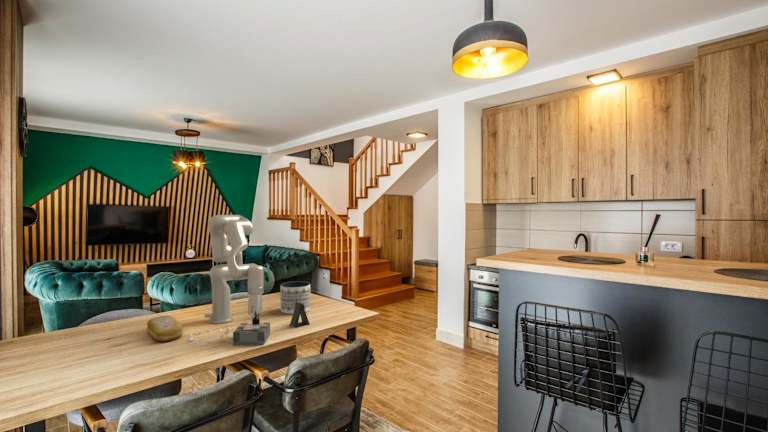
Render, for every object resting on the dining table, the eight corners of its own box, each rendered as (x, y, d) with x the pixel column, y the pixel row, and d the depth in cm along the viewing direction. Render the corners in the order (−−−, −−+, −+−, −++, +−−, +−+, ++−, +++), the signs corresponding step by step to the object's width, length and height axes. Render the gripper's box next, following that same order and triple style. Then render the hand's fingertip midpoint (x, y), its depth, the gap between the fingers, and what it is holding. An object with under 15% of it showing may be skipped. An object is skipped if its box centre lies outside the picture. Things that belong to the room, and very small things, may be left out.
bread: (170, 326, 198) (170, 311, 198) (188, 338, 181) (188, 321, 180) (141, 332, 188) (141, 316, 188) (158, 345, 171) (158, 328, 170)
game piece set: (229, 329, 195) (229, 321, 195) (231, 341, 177) (231, 333, 177) (188, 334, 186) (188, 326, 186) (186, 347, 168) (186, 339, 168)
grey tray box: (235, 339, 173) (234, 328, 173) (240, 333, 182) (240, 322, 182) (265, 338, 175) (265, 327, 174) (269, 332, 183) (269, 322, 183)
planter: (283, 306, 237) (283, 281, 237) (311, 306, 239) (311, 281, 239) (278, 315, 219) (278, 287, 219) (309, 314, 221) (309, 287, 221)
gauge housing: (233, 345, 170) (233, 332, 170) (241, 335, 184) (241, 323, 184) (264, 344, 172) (264, 331, 172) (270, 334, 186) (270, 322, 185)
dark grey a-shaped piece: (294, 327, 196) (293, 305, 196) (289, 324, 201) (289, 303, 200) (309, 324, 201) (309, 302, 201) (305, 321, 206) (305, 300, 206)
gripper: (251, 287, 191) (251, 322, 192) (243, 294, 176) (244, 331, 177) (266, 287, 192) (266, 321, 192) (260, 293, 177) (260, 331, 177)
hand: (255, 326), depth 185 cm, fingers closed
